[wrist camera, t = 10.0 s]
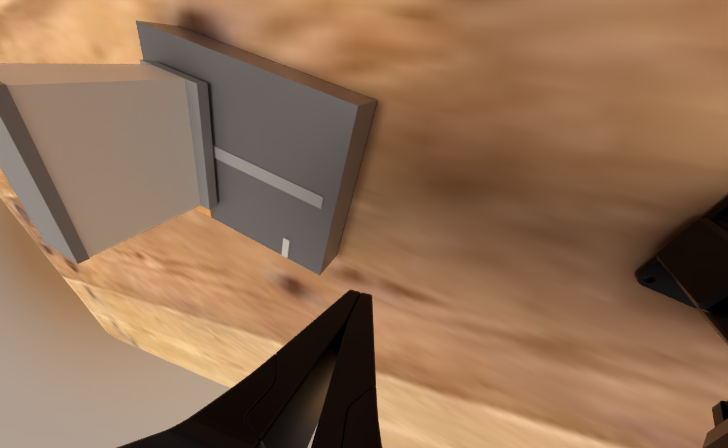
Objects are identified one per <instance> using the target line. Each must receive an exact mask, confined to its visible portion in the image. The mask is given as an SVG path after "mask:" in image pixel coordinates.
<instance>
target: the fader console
mask: <svg viewBox="0 0 728 448" xmlns="http://www.w3.org/2000/svg"><path fill="white" fill-rule="evenodd" d="M136 24H137V29H138V34H139V39H140V44H141V49H142V54H143V59H144V60H153V61H155V62H158V63H160V64H163V65H165V66H167V67H170V68H172V69H175V70H177V71H180V72H182V73H184V74H187V75H189V76H192V77H194V78H196V79H199V80H201V81H204V82H206V83H207V85H208V97H209V110H210V122H211V134H212V147H213V159H214V171H215V184H216V196H217V207H215V208H213V209H211V210H208V209H207V208H205V207H203V206H201V205H200V206H198V207H196V208H195V209H197V210H198V211H200V212H202V213H204V214H206V215H208V216H210V217H212V218H214V219H216V220H218V221H220V222H221V223H223V224H225V225H227V226H229V227H231V228H233V229H234V230H236V231H238V232H240V233H242V234H244V235H246V236H247V237H249V238H251V239H253V240H255V241H257V242H259V243H261V244H262V245H264V246H266V247H268V248H270V249H272V250H274V251H275V252H277V253H279V254H281V255H282V256H284V257H286V258H289V259H290V260H292V261H294V262H296V263H298V264H300V265H302V266H303V267H305V268H307V269H309V270H311V271H313V272H315V273H317V274H318V275H320V274H321V273H322V272H323V271H324V270H325V268H326V267H327V266H328V265H329V264H330V263H331V261H332V260H333V259H334V258H335V257H336V255H337V252H338V248H339V244H340V240H341V236H342V233H343V229H344V225H345V221H346V217H347V214H348V210H349V206H350V202H351V198H352V195H353V191H354V187H355V183H356V179H357V176H358V172H359V168H360V164H361V161H362V157H363V153H364V149H365V145H366V142H367V138H368V134H369V130H370V126H371V123H372V119H373V115H374V111H375V107H376V104H377V100H375V99H372V98H369V97H367V96H364V95H361V94H359V93H356V92H353V91H351V90H348V89H345V88H343V87H340V86H337V85H335V84H332V83H329V82H326V81H324V80H321V79H318V78H316V77H313V76H310V75H308V74H305V73H302V72H300V71H297V70H294V69H292V68H289V67H286V66H284V65H281V64H278V63H276V62H273V61H270V60H268V59H265V58H262V57H259V56H257V55H254V54H251V53H249V52H246V51H243V50H241V49H238V48H235V47H233V46H230V45H227V44H225V43H222V42H219V41H217V40H214V39H211V38H209V37H206V36H203V35H201V34H198V33H195V32H193V31H190V30H187V29H184V28H182V27H179V26H174V25H166V24H158V23H150V22H143V21H136Z"/></svg>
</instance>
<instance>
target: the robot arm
mask: <svg viewBox="0 0 728 448" xmlns="http://www.w3.org/2000/svg"><path fill="white" fill-rule="evenodd" d="M647 276H652V277H651V278H649V279H644V278H645V277H647ZM635 278H636V279H637V281H638V282H639V284H641V285H643V286H645V287H647V288H650V289H652V290H654V291H657V292H659V293H661V294H664V295H666V296H668V297H670V298H673V299H675V300H677V301H680V302H682V303H684V304H687V305H689V306H691V307H694V308H696V309H698V310H699V311H700V312H701V314H702V315H703V316H704V317H705V318H706V320H707V321H708V322H709V323H710V324H711V326H712V327H713V328H714V329H715V330H716V332H717V333H718V334H719V335H720V336H721V338H722V339H723V340H724V341H725V343H726V344H727V345H728V197H727V198H726V199H725V200H724V201H723V202H721V203H720V204H719V205H718V206H716V207H715V208H714V209H713V210H712V211H710V212H709V213H708V214H707V215H705V216H704V217H703V218H702V219H701V220H698V221H696V222H695V223H694V224H693V225H692V226H690V227H689V228H688V229H687V230H685V231H684V232H683V233H682V234H681V235H679V236H678V237H677V238H676V239H675V240H673V241H672V242H671V243H670V244H668V245H667V246H666V247H665V248H664V249H662V250H661V251H660V252H659V253H658V254H657V256H655V257H654V258H653V259H652V260H650V261H649V262H648V263H647V264H646V265H644V266H643V267H642V268H641V269H639V270H638V271H637V272H636V273H635ZM712 412H713V418H714V424H715V428H713V429H712V430H711V431H709V432H708V433H707V436H706V439H705V442H704V445H703V448H728V401H727V402H726V401H720V402H719V403H718V404H716V405H715V406H714V407H712ZM318 421H319V422H318ZM317 424H318V426H317ZM316 426H317V429H316V432H315V436H314V439H313V443H312V446H311V448H382V443H381V436H380V429H379V422H378V410H377V394H376V374H375V351H374V328H373V305H372V295H370V294H366V293H360V292H358V291H354V290H349V291H348V292H347V293H346V294H344V295H343V296H342V297H341V298H340V299H339V300H337V301H336V302H335V303H334V304H333V305H332V306H330V307H329V308H328V309H327V310H326V311H325V312H323V313H322V314H321V315H320V316H319V317H318V318H316V319H315V320H314V321H313V322H312V323H311V324H309V325H308V326H307V327H306V328H305V329H304V330H302V331H301V332H300V333H299V334H298V335H297V336H295V337H294V338H293V339H292V340H291V341H290V342H288V343H287V344H286V345H285V346H284V347H283V348H281V349H280V350H279V351H278V352H277V353H276V354H274V355H273V356H272V357H271V358H270V359H268V360H267V361H266V362H265V363H264V364H262V365H261V366H260V367H259V368H257V369H256V370H255V371H254V372H253V373H251V374H250V375H249V376H247V377H246V378H245V379H243V380H242V381H241V382H239V383H238V384H236V385H235V386H234V387H232V388H231V389H230V390H228V391H227V392H225V393H224V394H222V395H221V396H220V397H218V398H217V399H215V400H214V401H213V402H211V403H210V404H208V405H207V406H206V407H204V408H203V409H201V410H200V411H198V412H197V413H196V414H194V415H193V416H191V417H190V418H188V419H187V420H185V421H183V422H181V423H180V424H178V425H176V426H174V427H172V428H170V429H167V430H165V431H162V432H160V433H157V434H154V435H151V436H148V437H146V438H143V439H140V440H137V441H134V442H132V443H129V444H126V445H123V446H120V447H117V448H307V447H308V444H309V442H310V440H311V437H312V435H313V433H314V431H315V428H316Z"/></svg>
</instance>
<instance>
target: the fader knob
mask: <svg viewBox="0 0 728 448" xmlns="http://www.w3.org/2000/svg"><path fill="white" fill-rule="evenodd" d="M140 63H141V64H25V63H0V168H1V169H2V171H3V173H4V175H5V176H6V178H7V180H8V181H9V183H10V185H11V186H12V188H13V190H14V192H15V193H16V195H17V197H18V198H19V200H20V202H21V203H22V205H23V207H24V209H25V210H26V212H27V214H28V215H29V217H30V219H31V220H32V222H33V224H34V226H35V227H36V229H37V231H38V232H39V234H40V236H41V237H42V239H43V241H44V242H45V243H47V244H48V245H50V246H51V247H53V248H54V249H56V250H57V251H59V252H60V253H62V254H63V255H65V256H66V257H68V258H69V259H71V260H72V261H74V262H75V263H77V264H79V263H81V262H83V261H85V260H87V259H90V258H89V257H91V256H93V255H95V254H97V253H100V252H102V251H104V250H106V249H108V248H110V247H112V246H115V245H117V244H119V243H121V242H123V241H125V240H127V239H130V238H132V237H134V236H136V235H138V234H140V233H142V232H145V231H147V230H149V229H151V228H153V227H155V226H157V225H160V224H162V223H164V222H166V221H168V220H170V219H172V218H174V217H177V216H179V215H181V214H183V213H185V212H187V211H189V210H192V209H194V208H196V207H198V206H200V205H201V206H203V207H205V208H207V209H208V210H211V209H213V208H215V207H217V196H216V184H215V171H214V159H213V147H212V134H211V122H210V110H209V97H208V85H207V83H206V82H204V81H201V80H199V79H196V78H194V77H192V76H189V75H187V74H184V73H182V72H180V71H177V70H175V69H172V68H170V67H167V66H165V65H163V64H160V63H158V62H155V61H153V60H140Z"/></svg>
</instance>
